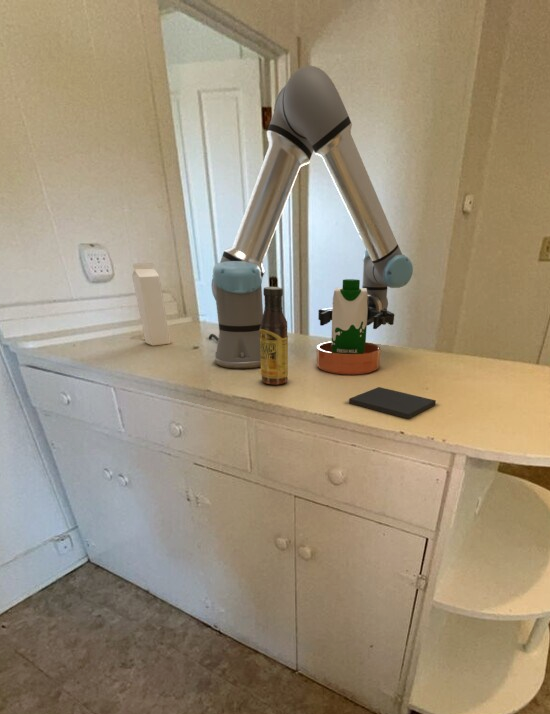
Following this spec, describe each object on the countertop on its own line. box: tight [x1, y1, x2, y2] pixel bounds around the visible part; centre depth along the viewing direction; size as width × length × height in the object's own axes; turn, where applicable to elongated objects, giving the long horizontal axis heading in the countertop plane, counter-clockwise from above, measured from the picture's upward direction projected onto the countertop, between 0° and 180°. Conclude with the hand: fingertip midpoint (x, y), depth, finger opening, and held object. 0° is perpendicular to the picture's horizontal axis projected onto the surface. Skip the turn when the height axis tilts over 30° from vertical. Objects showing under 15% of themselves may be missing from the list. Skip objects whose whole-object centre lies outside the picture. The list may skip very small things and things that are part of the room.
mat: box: [348, 386, 437, 420], centre depth 87 cm, size 14×11×1 cm
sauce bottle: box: [260, 286, 289, 386], centre depth 95 cm, size 7×6×20 cm
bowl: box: [316, 341, 381, 376], centre depth 111 cm, size 16×16×5 cm
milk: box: [131, 262, 171, 347], centre depth 130 cm, size 6×6×22 cm
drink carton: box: [331, 278, 368, 354], centre depth 107 cm, size 9×9×20 cm
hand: (347, 321), depth 105 cm, fingers open, 13 cm apart
